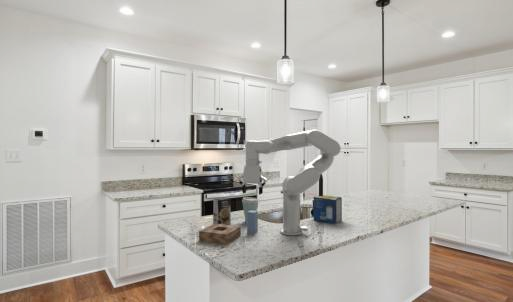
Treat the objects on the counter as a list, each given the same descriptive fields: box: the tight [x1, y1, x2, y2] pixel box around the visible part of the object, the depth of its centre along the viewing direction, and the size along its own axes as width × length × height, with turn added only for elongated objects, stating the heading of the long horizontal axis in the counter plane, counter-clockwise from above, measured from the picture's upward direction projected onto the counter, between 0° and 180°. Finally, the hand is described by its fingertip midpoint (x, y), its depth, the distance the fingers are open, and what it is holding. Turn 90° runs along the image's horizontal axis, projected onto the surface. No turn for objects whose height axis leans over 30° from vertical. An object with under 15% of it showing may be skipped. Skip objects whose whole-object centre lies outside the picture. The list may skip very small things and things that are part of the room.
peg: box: [246, 210, 259, 235], centre depth 162 cm, size 4×4×12 cm
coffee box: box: [212, 197, 232, 225], centre depth 180 cm, size 9×6×16 cm
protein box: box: [313, 194, 343, 225], centre depth 191 cm, size 10×15×16 cm
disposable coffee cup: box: [241, 196, 259, 223], centre depth 188 cm, size 11×11×15 cm
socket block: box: [198, 223, 242, 246], centre depth 153 cm, size 16×16×5 cm
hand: (252, 193), depth 162 cm, fingers open, 9 cm apart
